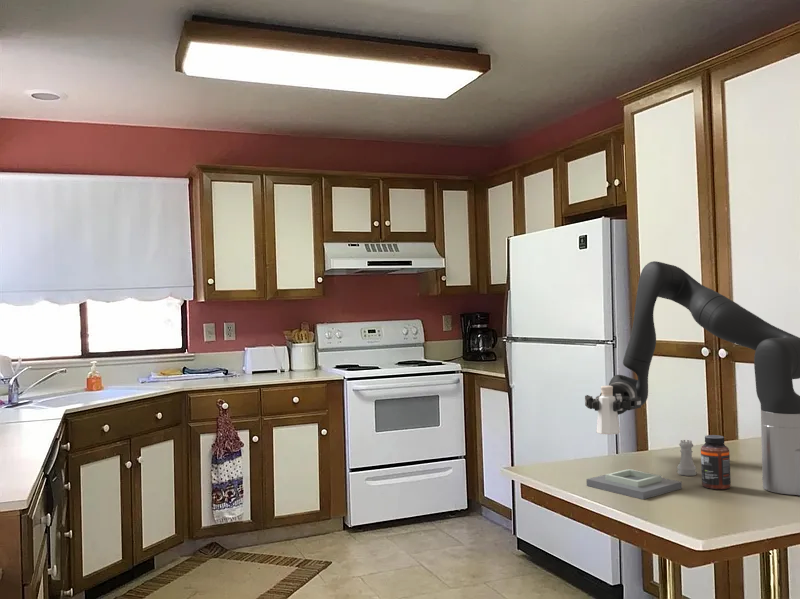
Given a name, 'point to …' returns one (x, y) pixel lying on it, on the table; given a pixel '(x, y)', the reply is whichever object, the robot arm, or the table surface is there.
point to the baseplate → (634, 483)
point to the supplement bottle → (715, 463)
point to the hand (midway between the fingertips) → (605, 406)
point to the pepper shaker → (607, 413)
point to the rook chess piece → (686, 459)
